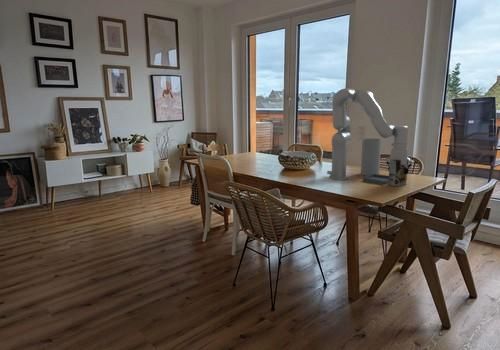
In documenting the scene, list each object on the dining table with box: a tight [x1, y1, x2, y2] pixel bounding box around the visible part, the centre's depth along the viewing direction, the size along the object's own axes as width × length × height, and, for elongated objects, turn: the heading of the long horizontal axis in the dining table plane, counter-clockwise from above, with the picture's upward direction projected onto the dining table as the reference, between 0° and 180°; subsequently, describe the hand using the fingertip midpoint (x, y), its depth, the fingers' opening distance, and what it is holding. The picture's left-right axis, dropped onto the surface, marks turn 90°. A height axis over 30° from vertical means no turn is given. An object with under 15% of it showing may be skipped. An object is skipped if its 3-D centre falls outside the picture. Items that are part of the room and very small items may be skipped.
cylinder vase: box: [360, 138, 382, 177], centre depth 244 cm, size 12×12×25 cm
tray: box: [362, 173, 389, 186], centre depth 228 cm, size 15×16×2 cm
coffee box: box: [388, 159, 408, 187], centre depth 216 cm, size 9×6×16 cm
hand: (398, 173), depth 216 cm, fingers open, 9 cm apart
